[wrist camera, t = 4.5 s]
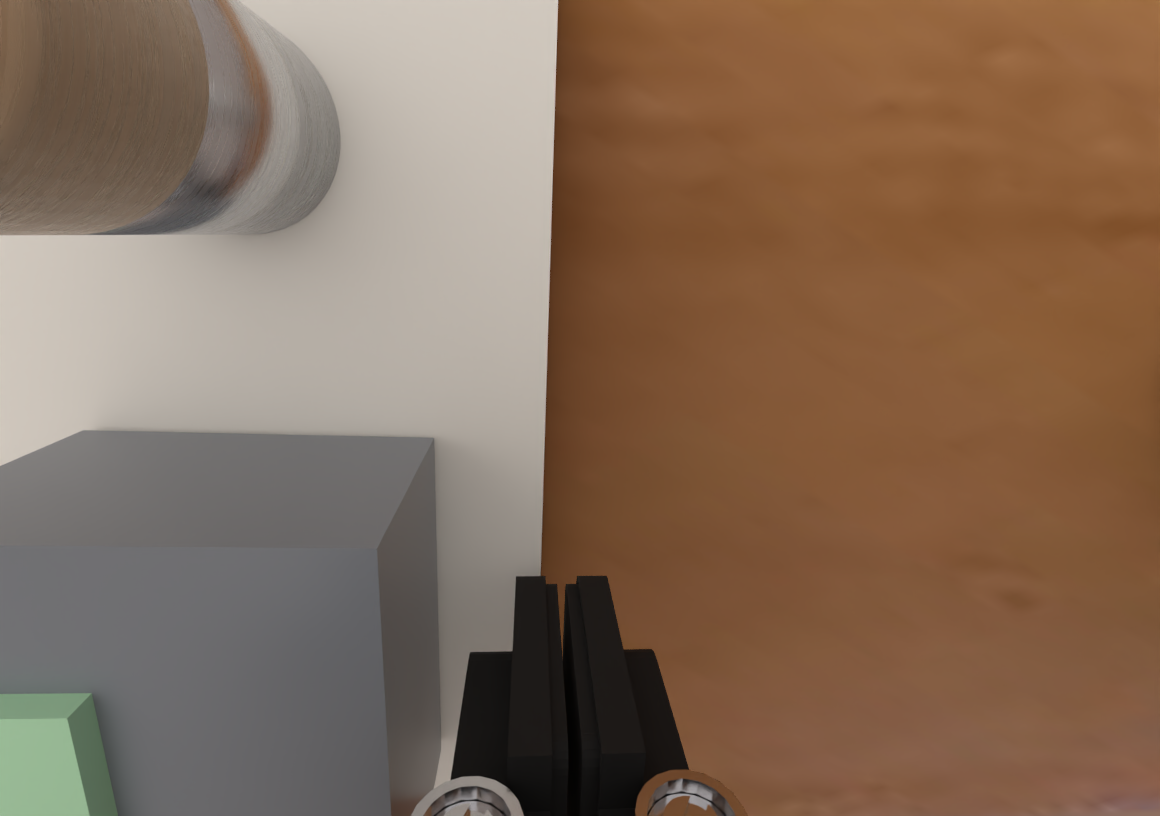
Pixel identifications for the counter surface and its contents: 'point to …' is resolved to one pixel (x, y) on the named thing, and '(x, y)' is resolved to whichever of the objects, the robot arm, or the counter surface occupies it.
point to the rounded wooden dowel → (157, 120)
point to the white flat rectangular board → (345, 296)
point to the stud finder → (219, 626)
